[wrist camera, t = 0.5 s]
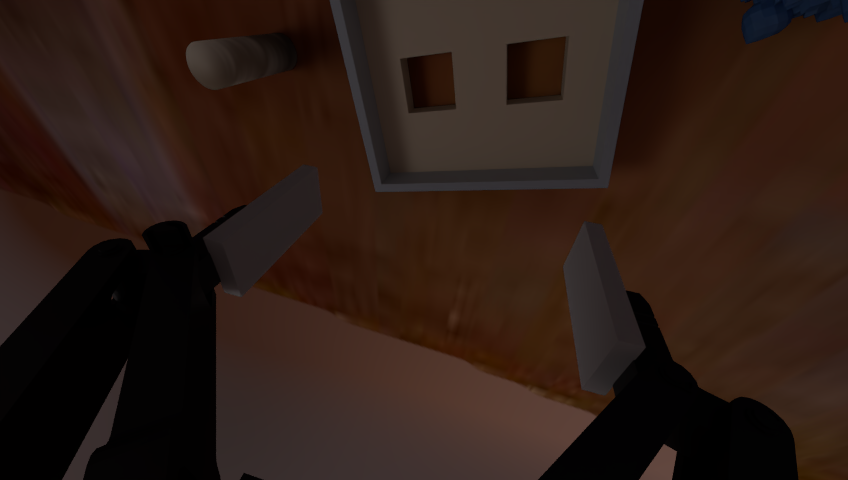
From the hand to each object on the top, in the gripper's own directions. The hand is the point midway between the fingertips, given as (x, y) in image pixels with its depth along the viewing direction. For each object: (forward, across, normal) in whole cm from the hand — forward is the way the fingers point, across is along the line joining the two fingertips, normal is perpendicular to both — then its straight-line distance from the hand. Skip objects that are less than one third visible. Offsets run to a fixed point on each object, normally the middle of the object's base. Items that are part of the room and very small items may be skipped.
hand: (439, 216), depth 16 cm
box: (+26, -1, +2) cm, 27 cm away
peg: (+26, -26, +1) cm, 37 cm away
